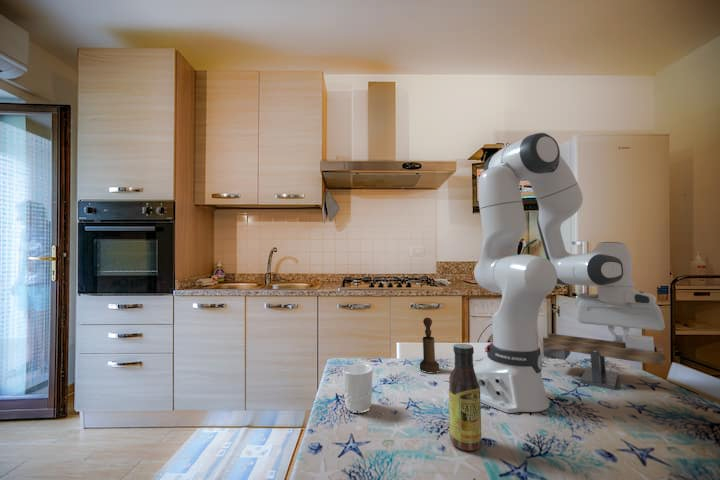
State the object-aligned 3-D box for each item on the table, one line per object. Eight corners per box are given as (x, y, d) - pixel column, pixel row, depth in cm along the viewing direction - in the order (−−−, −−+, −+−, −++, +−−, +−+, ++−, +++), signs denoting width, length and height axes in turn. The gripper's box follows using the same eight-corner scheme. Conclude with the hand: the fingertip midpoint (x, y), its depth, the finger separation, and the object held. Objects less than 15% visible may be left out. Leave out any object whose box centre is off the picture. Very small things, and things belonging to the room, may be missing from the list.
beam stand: (580, 382, 93) (578, 350, 94) (587, 370, 103) (585, 341, 104) (614, 389, 88) (611, 355, 88) (618, 375, 98) (615, 345, 99)
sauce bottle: (464, 456, 60) (459, 351, 61) (443, 439, 65) (439, 344, 67) (490, 447, 62) (484, 347, 64) (467, 432, 68) (463, 340, 69)
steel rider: (626, 353, 89) (625, 337, 90) (627, 348, 94) (626, 333, 94) (655, 357, 85) (653, 340, 86) (654, 352, 90) (653, 336, 90)
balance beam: (543, 356, 102) (542, 335, 102) (550, 350, 109) (549, 329, 110) (666, 378, 82) (664, 351, 83) (665, 368, 89) (663, 343, 90)
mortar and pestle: (442, 369, 108) (439, 316, 109) (435, 375, 102) (433, 320, 104) (423, 366, 111) (421, 315, 113) (417, 371, 106) (415, 318, 107)
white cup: (377, 404, 83) (376, 365, 83) (366, 417, 75) (364, 375, 76) (351, 399, 86) (350, 362, 87) (337, 412, 79) (337, 371, 80)
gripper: (573, 294, 98) (576, 338, 98) (662, 298, 85) (667, 349, 84) (576, 292, 103) (579, 334, 102) (661, 295, 89) (666, 344, 88)
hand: (619, 341), depth 93 cm, fingers closed
